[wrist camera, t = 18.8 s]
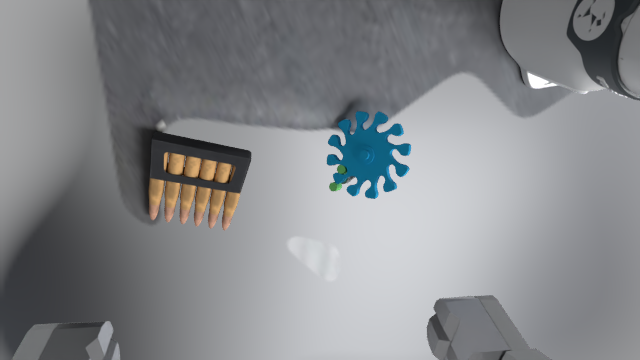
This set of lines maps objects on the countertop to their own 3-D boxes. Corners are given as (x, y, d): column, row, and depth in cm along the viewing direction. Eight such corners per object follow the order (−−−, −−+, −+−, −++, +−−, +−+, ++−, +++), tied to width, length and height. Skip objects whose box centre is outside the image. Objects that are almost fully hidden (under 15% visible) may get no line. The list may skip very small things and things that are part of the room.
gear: (371, 90, 41) (427, 164, 39) (388, 96, 47) (438, 162, 44) (302, 152, 46) (349, 221, 44) (325, 152, 51) (367, 213, 49)
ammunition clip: (251, 159, 43) (231, 236, 49) (251, 151, 45) (231, 226, 51) (151, 139, 40) (142, 223, 46) (154, 131, 42) (146, 213, 48)
